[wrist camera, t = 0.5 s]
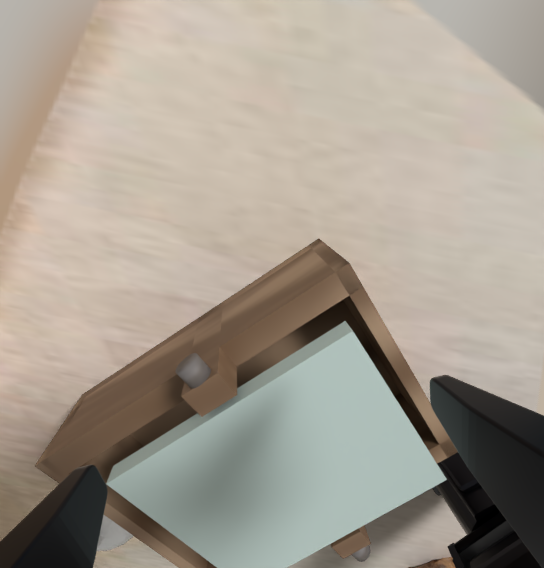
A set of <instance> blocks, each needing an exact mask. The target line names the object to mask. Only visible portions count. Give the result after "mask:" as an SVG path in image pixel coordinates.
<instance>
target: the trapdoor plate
mask: <svg viewBox="0 0 544 568" xmlns="http://www.w3.org/2000/svg"><path fill="white" fill-rule="evenodd" d="M445 480H447V479H446V477H445V476H444V474H443V473H442V471H441V469H440V468H439V466H438V465H437V463H436V462H435V460H434V458H433V457H432V455H431V454H430V452H429V450H428V449H427V447H426V446H425V444H424V443H423V441H422V439H421V438H420V436H419V435H418V433H417V431H416V430H415V428H414V427H413V425H412V424H411V422H410V420H409V419H408V417H407V416H406V414H405V413H404V411H403V409H402V408H401V406H400V405H399V403H398V401H397V400H396V398H395V397H394V395H393V394H392V392H391V390H390V389H389V387H388V386H387V384H386V382H385V381H384V379H383V378H382V376H381V375H380V373H379V371H378V370H377V368H376V367H375V365H374V363H373V362H372V360H371V359H370V357H369V356H368V354H367V352H366V351H365V349H364V348H363V346H362V344H361V343H360V341H359V340H358V338H357V337H356V335H355V333H354V332H353V330H352V329H351V328H350V326H349V325H348V324H347V322H346V321H344V322H343V323H341V324H339V325H338V326H336V327H335V328H333V329H331V330H330V331H328V332H327V333H325V334H323V335H322V336H320V337H319V338H317V339H315V340H314V341H312V342H311V343H309V344H307V345H306V346H304V347H303V348H301V349H299V350H298V351H296V352H295V353H293V354H291V355H290V356H288V357H287V358H285V359H283V360H282V361H280V362H279V363H277V364H275V365H274V366H272V367H271V368H269V369H267V370H266V371H264V372H263V373H261V374H259V375H258V376H256V377H255V378H253V379H251V380H250V381H248V382H247V383H245V384H243V385H242V386H240V387H239V388H237V395H236V396H235V397H233V398H232V399H230V400H228V401H227V402H225V403H224V404H222V405H220V406H219V407H217V408H216V409H214V410H212V411H211V412H209V413H208V414H206V415H204V416H203V417H201V416H200V415H199V414H198V413H197V414H196V415H194V416H192V417H191V418H189V419H188V420H186V421H184V422H183V423H181V424H180V425H178V426H176V427H175V428H173V429H172V430H170V431H168V432H167V433H165V434H164V435H162V436H160V437H159V438H157V439H156V440H154V441H152V442H151V443H149V444H148V445H146V446H144V447H143V448H141V449H140V450H138V451H136V452H135V453H133V454H132V455H130V456H128V457H127V458H125V459H124V460H122V461H120V462H119V463H117V464H116V465H114V466H113V468H112V470H111V473H110V475H109V478H108V480H107V483H106V484H107V485H108V486H109V487H111V488H112V489H113V490H115V491H116V492H117V493H119V494H120V495H121V496H123V497H124V498H125V499H127V500H128V501H129V502H131V503H132V504H133V505H135V506H136V507H137V508H139V509H140V510H141V511H143V512H144V513H145V514H147V515H148V516H149V517H150V518H152V519H153V520H154V521H156V522H157V523H158V524H160V525H161V526H162V527H164V528H165V529H166V530H168V531H169V532H170V533H172V534H173V535H174V536H176V537H177V538H178V539H180V540H181V541H182V542H184V543H185V544H186V545H188V546H189V547H190V548H192V549H193V550H194V551H196V552H197V553H198V554H200V555H201V556H202V557H204V558H205V559H206V560H208V561H209V562H210V563H211V564H213V565H214V566H215V567H217V568H287V567H289V566H291V565H293V564H295V563H296V562H298V561H300V560H302V559H304V558H305V557H307V556H309V555H311V554H313V553H315V552H316V551H318V550H320V549H322V548H324V547H325V546H327V545H329V544H331V543H333V542H335V541H336V540H338V539H340V538H342V537H344V536H345V535H347V534H349V533H351V532H353V531H355V530H356V529H358V528H360V527H362V526H364V525H365V524H367V523H369V522H371V521H373V520H375V519H376V518H378V517H380V516H382V515H384V514H385V513H387V512H389V511H391V510H393V509H395V508H396V507H398V506H400V505H402V504H404V503H405V502H407V501H409V500H411V499H413V498H415V497H416V496H418V495H420V494H422V493H424V492H425V491H427V490H429V489H431V488H433V487H435V486H436V485H438V484H440V483H442V482H444V481H445Z"/></svg>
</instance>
